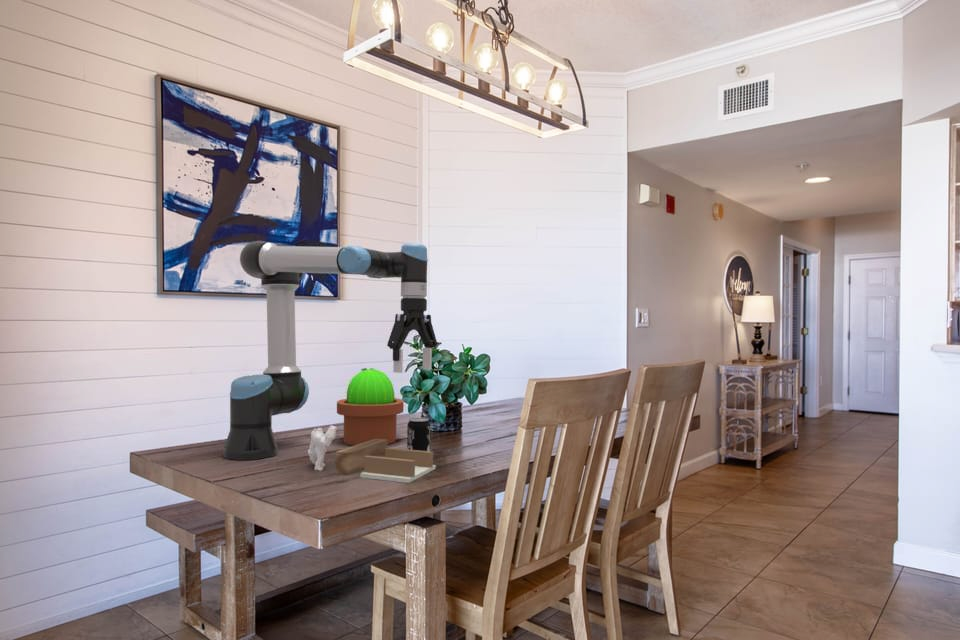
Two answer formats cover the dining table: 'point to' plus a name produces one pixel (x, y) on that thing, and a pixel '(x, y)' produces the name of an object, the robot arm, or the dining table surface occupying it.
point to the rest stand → (398, 465)
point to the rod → (358, 455)
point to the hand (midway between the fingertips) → (412, 371)
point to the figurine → (320, 445)
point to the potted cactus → (369, 408)
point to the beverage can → (418, 434)
